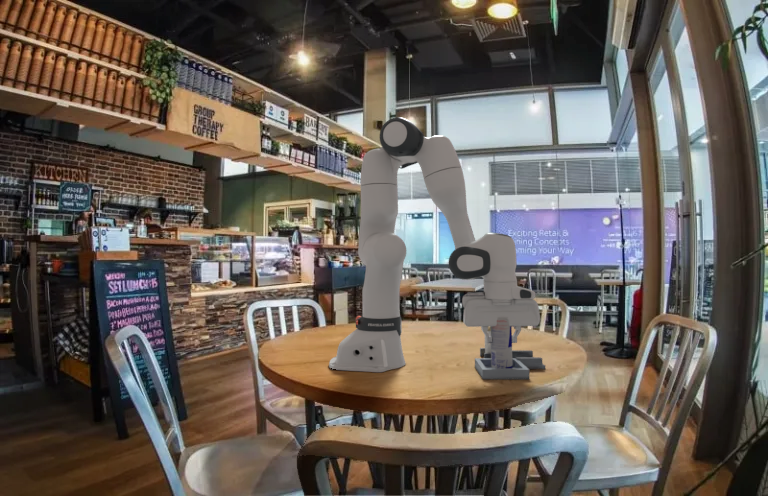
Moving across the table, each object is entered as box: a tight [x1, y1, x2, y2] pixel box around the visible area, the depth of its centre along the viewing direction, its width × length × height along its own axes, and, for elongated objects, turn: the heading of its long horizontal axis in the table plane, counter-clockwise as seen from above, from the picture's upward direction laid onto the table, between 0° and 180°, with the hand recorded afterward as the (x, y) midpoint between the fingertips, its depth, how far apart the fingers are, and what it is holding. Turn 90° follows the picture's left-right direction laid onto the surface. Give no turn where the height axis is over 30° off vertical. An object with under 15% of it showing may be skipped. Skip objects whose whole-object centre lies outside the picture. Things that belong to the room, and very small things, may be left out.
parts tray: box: [474, 357, 531, 380], centre depth 117 cm, size 12×12×2 cm
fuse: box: [484, 326, 491, 353], centre depth 133 cm, size 5×5×10 cm
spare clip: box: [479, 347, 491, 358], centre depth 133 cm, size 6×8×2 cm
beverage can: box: [490, 317, 513, 368], centre depth 118 cm, size 6×6×15 cm
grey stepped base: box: [512, 349, 546, 370], centre depth 126 cm, size 8×10×3 cm
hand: (501, 342), depth 117 cm, fingers closed on beverage can, 5 cm apart
